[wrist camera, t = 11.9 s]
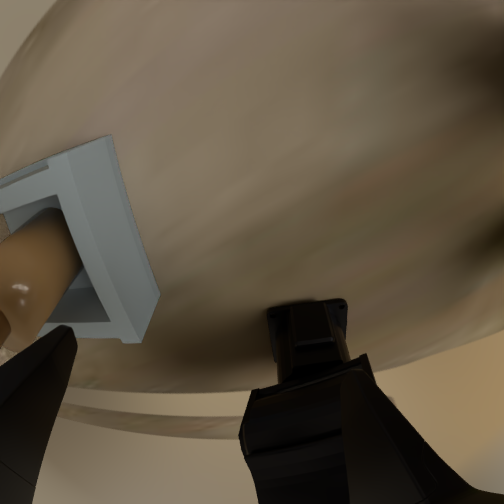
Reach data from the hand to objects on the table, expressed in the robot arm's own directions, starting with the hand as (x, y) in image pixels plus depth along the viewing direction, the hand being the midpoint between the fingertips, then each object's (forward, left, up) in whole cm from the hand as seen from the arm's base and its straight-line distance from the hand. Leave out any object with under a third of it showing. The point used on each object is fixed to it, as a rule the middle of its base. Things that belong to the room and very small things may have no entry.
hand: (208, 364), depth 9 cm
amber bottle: (0, +14, -12) cm, 19 cm away
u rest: (0, +14, -13) cm, 19 cm away
